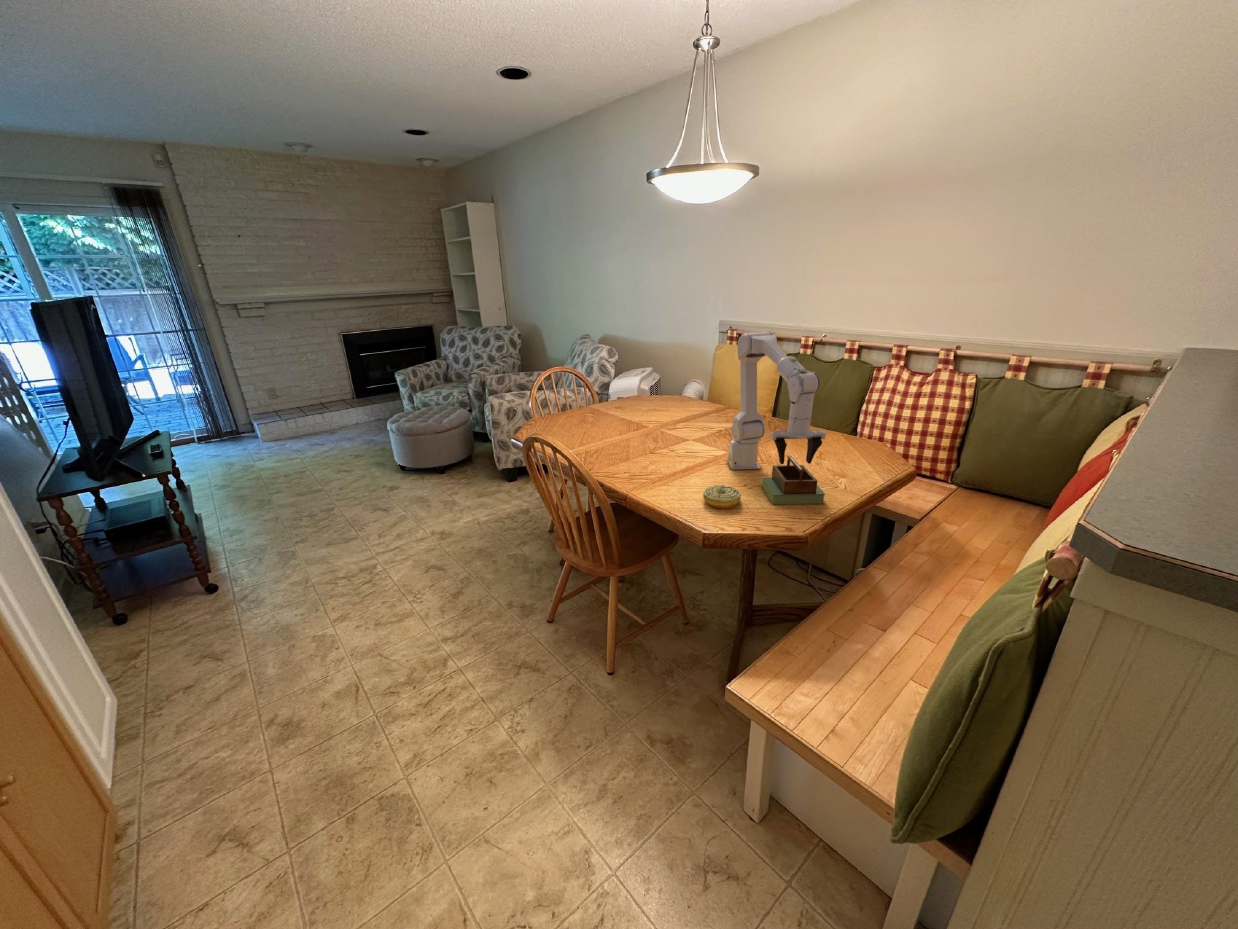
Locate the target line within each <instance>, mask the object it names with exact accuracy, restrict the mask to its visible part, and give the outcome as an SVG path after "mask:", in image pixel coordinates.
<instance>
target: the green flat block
mask: <svg viewBox="0 0 1238 929" xmlns="http://www.w3.org/2000/svg"><path fill="white" fill-rule="evenodd" d="M761 479H762V484H761V487H762V490H763V491H764V492H765V494H766V496H767V497H768V499H769V500H770V502H771V503H772V505H804V504H805V505H807V504H808V505H809V504H810V505H811V504H813V505H814V504H824V499H825V496H826V493H825V492H824V491H823V489H821V487H820V486H819V485H818V484H817V489H816V494H783V493H782V492H781V490H780V489H779V487H778V486H777V485H776V483H775V482H774V480H773V479H772V476H771V477H761Z"/></svg>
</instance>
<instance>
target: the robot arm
mask: <svg viewBox="0 0 1238 929" xmlns="http://www.w3.org/2000/svg"><path fill="white" fill-rule="evenodd" d="M764 357H767V358H768V359H769V360H770V361H771V362H772V363H774V364H775V365H776V371H777V373H778V374H779V375H780V376H781V377H782V379H783V380H784V381H785V382H786V383H787V390H788V398H789V401H790V406H789V416H788V423H787V429H783V430H776V431H771V432H770V439H771V440H772V441H773V442H774V444H775V447H776V449H777V454H778V461H779V464H780V465H784V464H785V457H786V456H785V454H786V449H787V445H788V443H787V442H786V440H804V439H805V440H807V448H806V449H807V450H806V456H805V462H806V464H809V465H810V464H812V462H813V460H814V459H813V458H814V457H815V455H816V453H817V451H818V450H819V448H820V447H821V446H822V445H823V440H825V439H826V435H827V431H825V430H819V429H811V423H812V414H813V406H814V400H815V399H814V398H815V394H817V393H818V392H819V390H820V388H821V377H820V376H819V374H818V373H817V372H816V371H810V370H807V369H806V368H805V367H804V366H803V365H802V364H801V363H800V362H799V361H798V359H797V358H796V357H795V356H790V355H789V356H787V355H786V353H785V352H784V350H783V349H782V347H781V346H779V344H778V340H777V336H776V335H775V334H774V332H772V331H764V332H763V331H762V332H749V333H746V332H743V333H742V334H741V335H740V337H739V338H738V339H737V360H739V368H740V369H739V373H740V374H739V376H740V382H739V383H740V386H739V388H740V411H739V413H737V414H736V415H735V416H734V417H733V418H732V425H731V429H730V430H731V437H732V438H733V439H734V440H730V441H729V442H728V454H727V463H728V464H729V467H730V469H731V470H760V469H761V466H760V465H759V463H758V455H759V445H760V444H759V443H760V442H761V441H762V438H763V437H765V434H766V425H765V420H764V419H765V418H764V416H763V415H762V414H761V413H759V412H758V362H760V360H761V359H763V358H764Z"/></svg>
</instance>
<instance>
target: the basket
mask: <svg viewBox="0 0 1238 929" xmlns="http://www.w3.org/2000/svg"><path fill="white" fill-rule="evenodd" d="M786 458H787V459H786V461H787V462H786V464H785V465H784V464H780V465H778V464H777V465H772V469H771V470H772V471H771V477H772V479H773V480H774V482H775V483H776V485H777V486H778V487H779V489H780V490H781V492H782V493H783V494H816V489H817V485H818V480H817V478H816V477H815V476H814V475H813V474H812V473H811V472H810V471H809V470H808V468H806V467H805V465H804V464H799V463H798V462H797V461H796V459H794V457H793V456H792V455H791V454H789V455H787V456H786Z"/></svg>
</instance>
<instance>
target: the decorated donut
mask: <svg viewBox="0 0 1238 929" xmlns="http://www.w3.org/2000/svg"><path fill="white" fill-rule="evenodd" d="M702 494H703V495H702V497H703V500H704V502H705V503H706V504H708V505H709V506H710V507H713V508H717V509H731V508H733V507H735V506H737V505H738V504H739V502H740V501H741V498H742V494H741V492H740V491H739V490H738V489H736V488H735V487H734V486H733V487H732V486H730V485H727V484H725V485H724V484H716V485H712V486H709V487H707V488H705V489H704V491H703V493H702Z"/></svg>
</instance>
